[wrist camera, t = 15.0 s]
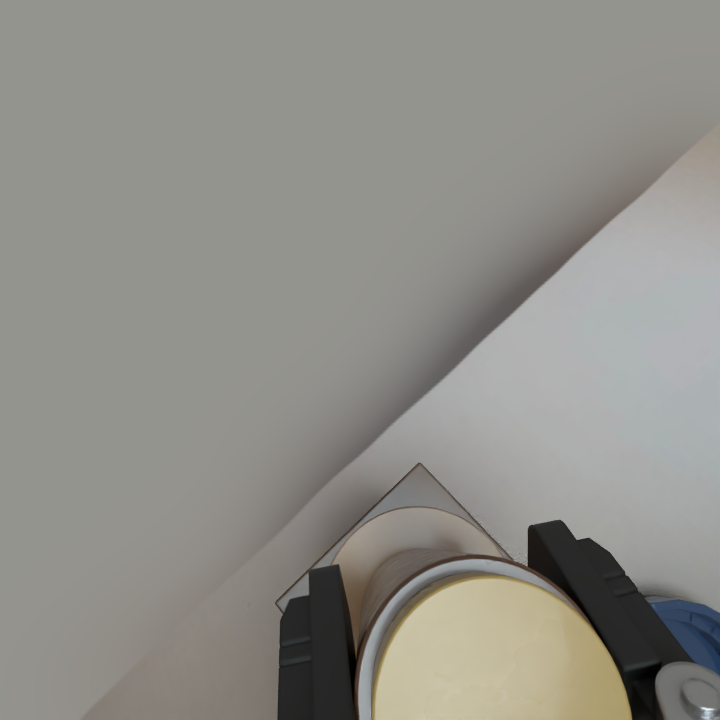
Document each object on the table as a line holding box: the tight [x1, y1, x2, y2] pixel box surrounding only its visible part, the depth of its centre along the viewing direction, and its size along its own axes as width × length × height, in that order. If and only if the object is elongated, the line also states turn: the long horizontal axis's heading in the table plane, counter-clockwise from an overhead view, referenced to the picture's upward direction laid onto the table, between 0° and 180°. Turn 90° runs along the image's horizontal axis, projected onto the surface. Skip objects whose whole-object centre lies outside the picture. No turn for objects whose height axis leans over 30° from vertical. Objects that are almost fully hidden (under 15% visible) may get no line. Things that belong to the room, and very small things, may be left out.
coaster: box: [331, 506, 504, 656], centre depth 19 cm, size 8×8×1 cm
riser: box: [275, 463, 514, 613], centre depth 28 cm, size 8×8×19 cm
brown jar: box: [354, 548, 632, 720], centre depth 12 cm, size 5×5×10 cm
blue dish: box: [644, 595, 720, 675], centre depth 32 cm, size 11×11×4 cm
